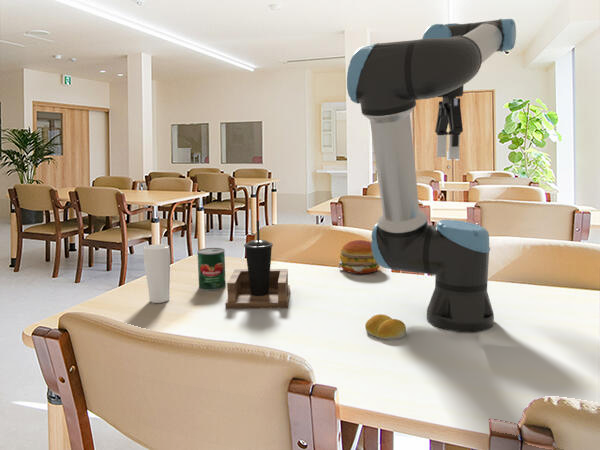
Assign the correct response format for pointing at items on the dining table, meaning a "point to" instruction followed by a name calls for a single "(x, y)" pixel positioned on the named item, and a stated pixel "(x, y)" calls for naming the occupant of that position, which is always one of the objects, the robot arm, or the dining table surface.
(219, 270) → the canned tomato
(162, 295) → the drinking glass
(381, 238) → the robot arm
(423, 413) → the dining table surface
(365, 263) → the burger
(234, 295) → the walnut rest
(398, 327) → the bread roll
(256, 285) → the drinking cup
